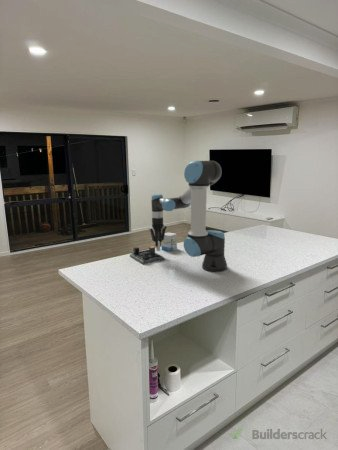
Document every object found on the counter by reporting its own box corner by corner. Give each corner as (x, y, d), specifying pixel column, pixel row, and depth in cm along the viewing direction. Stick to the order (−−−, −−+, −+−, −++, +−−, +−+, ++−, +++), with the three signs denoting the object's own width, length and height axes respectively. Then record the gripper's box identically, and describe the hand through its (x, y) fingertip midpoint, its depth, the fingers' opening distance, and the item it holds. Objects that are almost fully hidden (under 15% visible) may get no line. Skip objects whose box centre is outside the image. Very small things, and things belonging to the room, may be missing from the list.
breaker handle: (155, 254, 216) (154, 247, 215) (151, 255, 215) (151, 247, 214) (153, 253, 219) (152, 246, 218) (149, 254, 217) (148, 246, 216)
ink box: (170, 251, 230) (170, 235, 227) (161, 249, 235) (160, 234, 232) (177, 248, 236) (177, 233, 234) (168, 246, 241) (167, 231, 239)
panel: (164, 259, 211) (164, 250, 209) (143, 264, 203) (142, 254, 201) (150, 252, 227) (150, 243, 226) (130, 256, 219) (129, 247, 218)
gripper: (163, 215, 220) (163, 247, 225) (146, 217, 214) (147, 250, 219) (168, 216, 214) (169, 250, 219) (151, 219, 208) (152, 253, 213)
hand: (158, 250), depth 219 cm, fingers closed
